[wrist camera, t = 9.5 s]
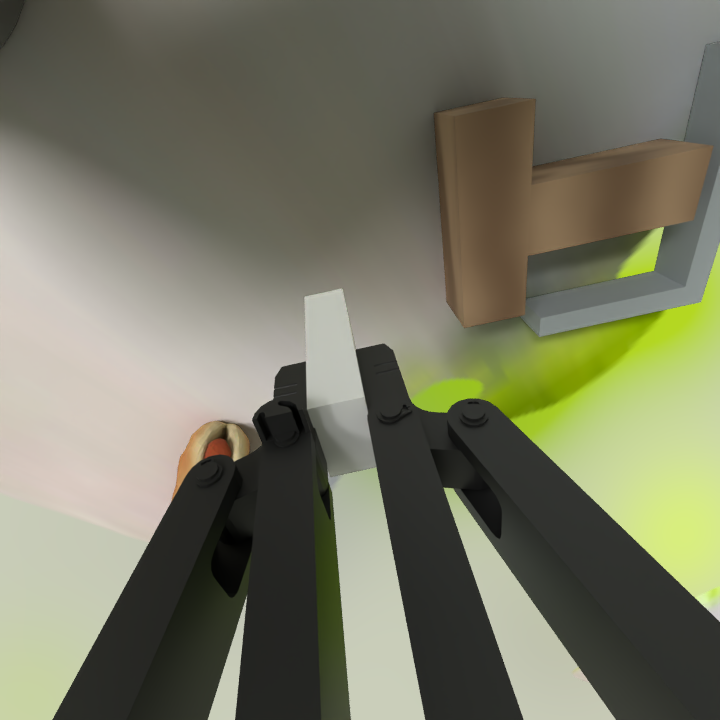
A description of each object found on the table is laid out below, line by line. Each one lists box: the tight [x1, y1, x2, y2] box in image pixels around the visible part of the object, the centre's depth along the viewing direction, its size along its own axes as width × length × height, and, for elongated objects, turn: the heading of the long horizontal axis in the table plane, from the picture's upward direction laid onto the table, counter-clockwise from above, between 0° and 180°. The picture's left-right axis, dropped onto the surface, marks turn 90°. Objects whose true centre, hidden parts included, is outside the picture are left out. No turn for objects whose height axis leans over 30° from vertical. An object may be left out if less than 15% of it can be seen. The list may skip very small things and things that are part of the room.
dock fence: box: [521, 42, 720, 337], centre depth 26 cm, size 12×15×3 cm
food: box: [172, 421, 250, 500], centre depth 35 cm, size 14×6×5 cm, turn 160°
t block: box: [434, 98, 714, 328], centre depth 25 cm, size 14×12×4 cm
